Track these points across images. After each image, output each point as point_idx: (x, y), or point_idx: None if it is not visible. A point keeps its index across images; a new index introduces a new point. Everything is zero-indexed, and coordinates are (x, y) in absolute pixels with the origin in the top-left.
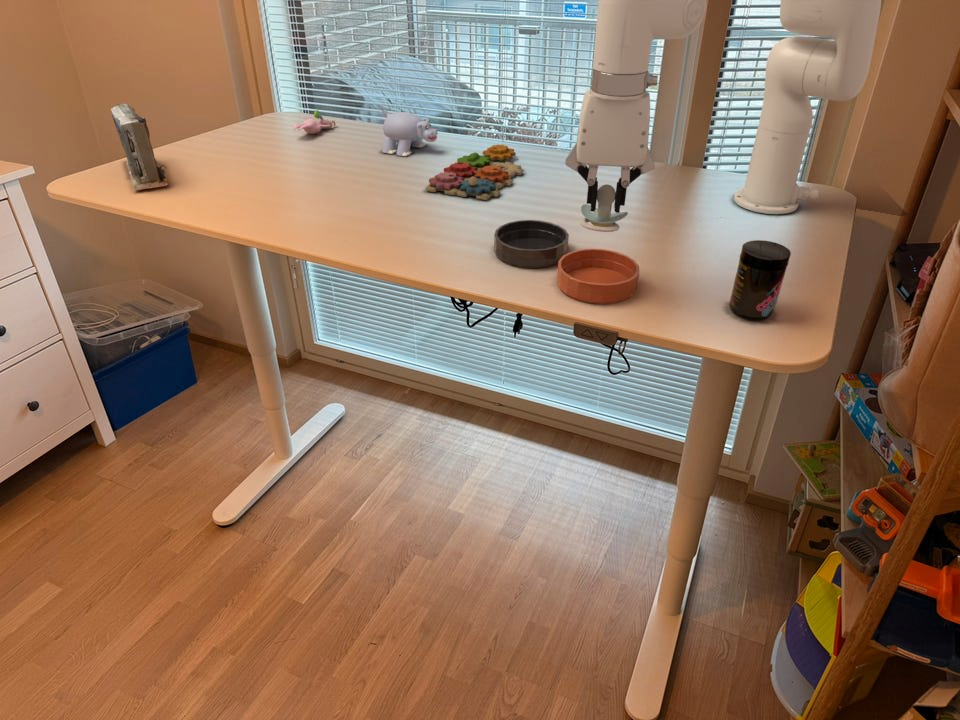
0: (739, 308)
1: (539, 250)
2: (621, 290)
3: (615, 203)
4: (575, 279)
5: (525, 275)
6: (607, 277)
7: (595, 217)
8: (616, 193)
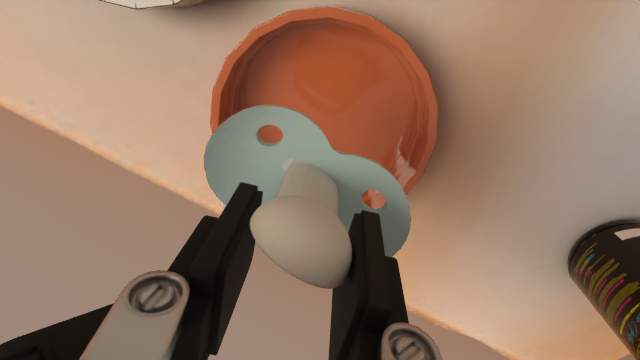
0: (577, 284)
1: (152, 7)
2: None
3: (334, 297)
4: None
5: (149, 44)
6: (360, 91)
7: (278, 177)
8: (337, 324)
